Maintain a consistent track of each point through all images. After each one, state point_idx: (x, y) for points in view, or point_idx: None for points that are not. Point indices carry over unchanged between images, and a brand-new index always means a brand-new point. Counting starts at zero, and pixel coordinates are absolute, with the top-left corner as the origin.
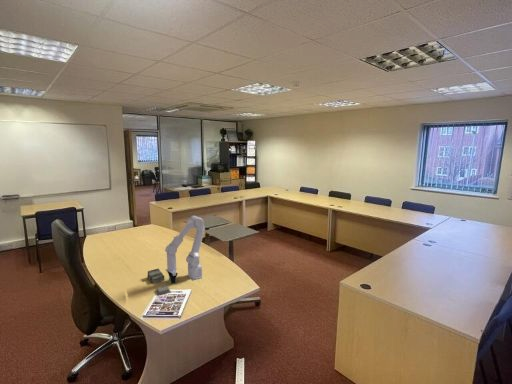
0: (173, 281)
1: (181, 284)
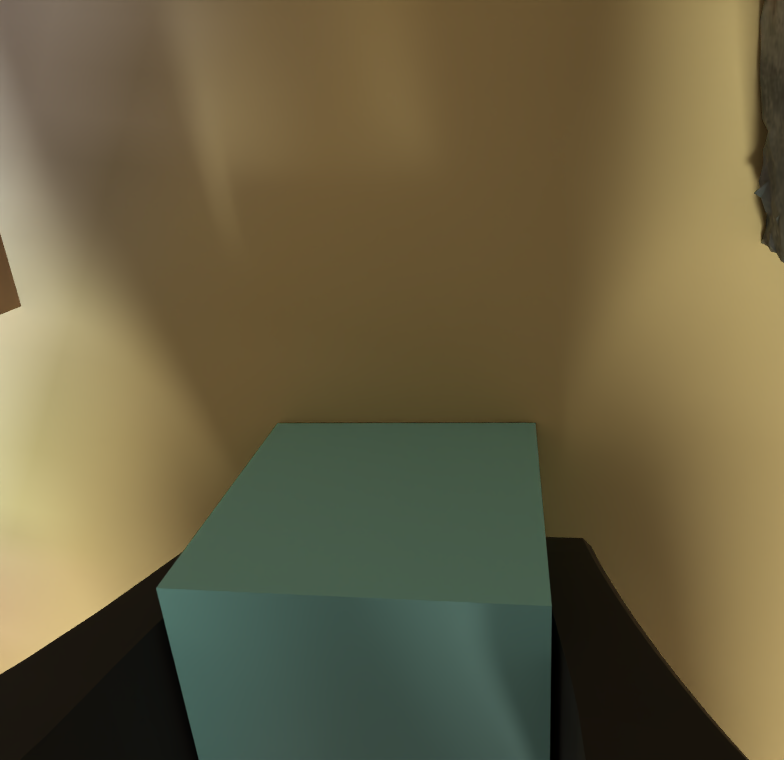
0: None
1: None
